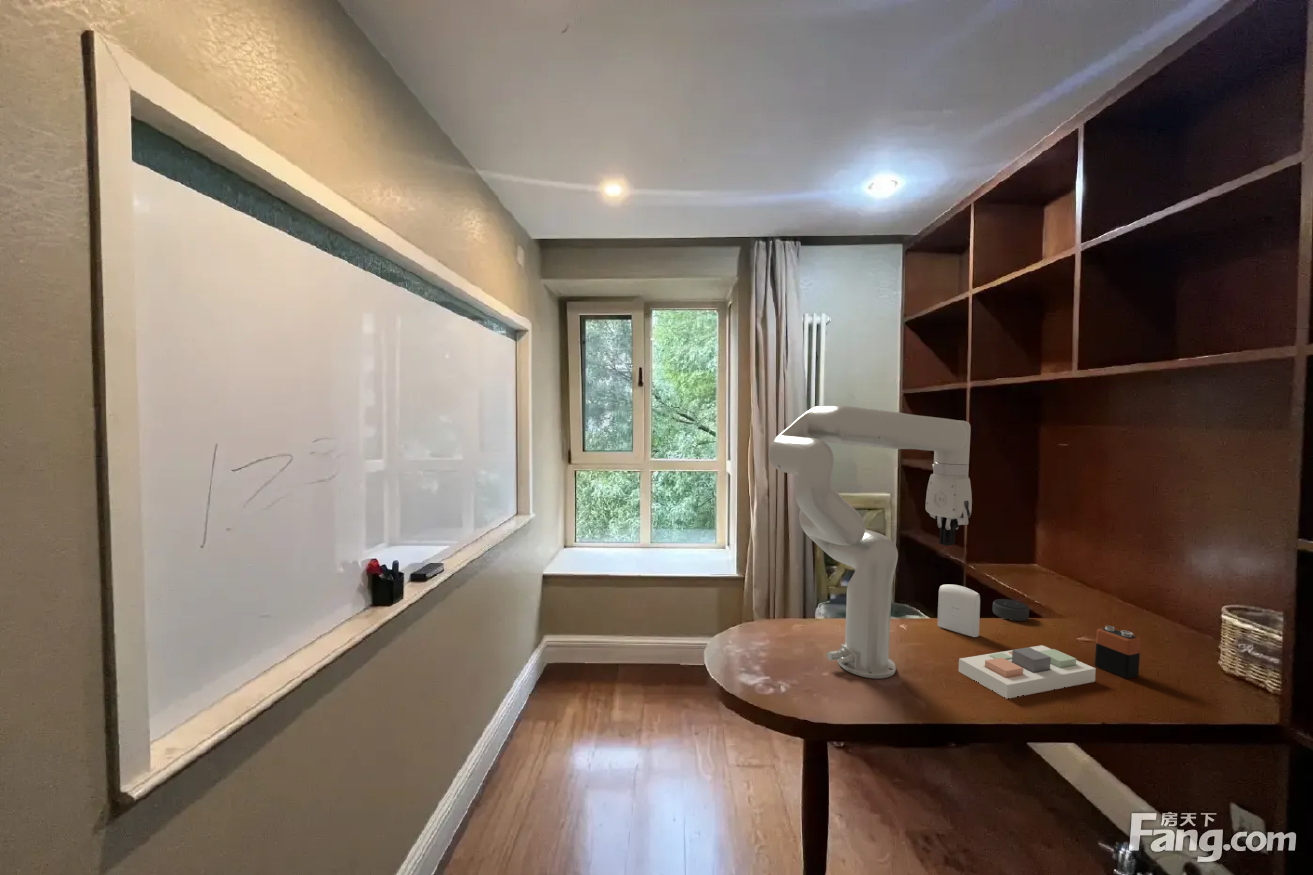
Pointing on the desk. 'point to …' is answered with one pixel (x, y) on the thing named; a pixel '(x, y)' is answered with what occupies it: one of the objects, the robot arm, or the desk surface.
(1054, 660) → the sage key
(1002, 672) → the terracotta key
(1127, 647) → the battery
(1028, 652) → the charcoal key
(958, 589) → the photo printer
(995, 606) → the smart speaker
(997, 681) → the white flat slab
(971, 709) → the desk surface
